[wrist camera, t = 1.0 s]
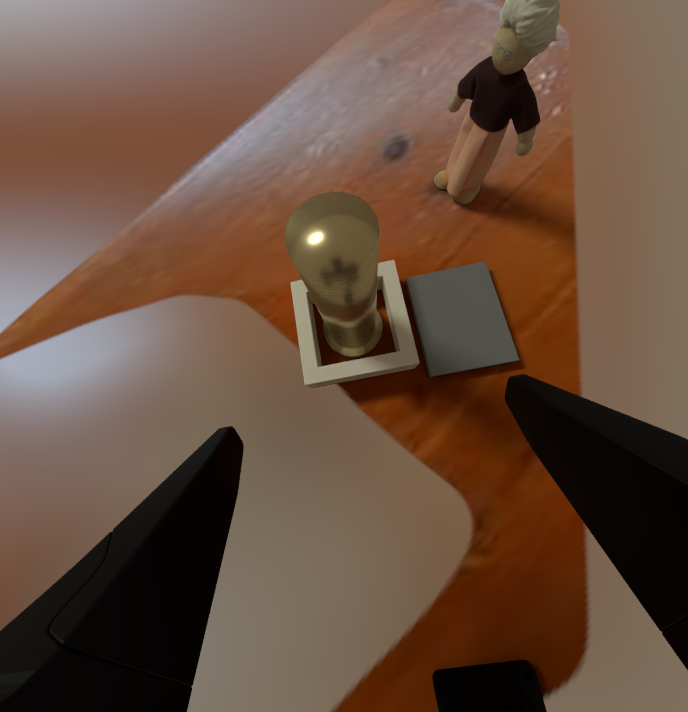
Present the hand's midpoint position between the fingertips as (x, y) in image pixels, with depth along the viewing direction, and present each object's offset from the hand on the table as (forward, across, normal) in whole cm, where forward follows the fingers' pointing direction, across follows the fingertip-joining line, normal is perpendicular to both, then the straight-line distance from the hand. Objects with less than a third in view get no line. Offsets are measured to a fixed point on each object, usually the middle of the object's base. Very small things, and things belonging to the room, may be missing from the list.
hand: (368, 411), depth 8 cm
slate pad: (+14, -9, +5) cm, 18 cm away
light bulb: (+15, 0, +4) cm, 16 cm away
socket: (+15, 0, +4) cm, 16 cm away
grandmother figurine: (+24, -13, -4) cm, 27 cm away
